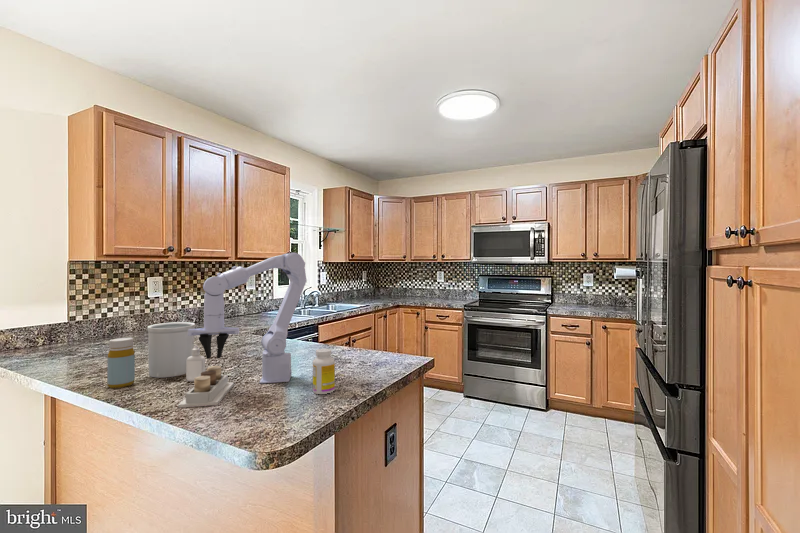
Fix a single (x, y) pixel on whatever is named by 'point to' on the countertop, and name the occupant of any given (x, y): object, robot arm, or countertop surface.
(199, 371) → the eye dropper bottle
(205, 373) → the walnut plug
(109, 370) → the bottle
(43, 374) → the countertop surface
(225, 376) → the white compartment tray
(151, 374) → the utensil holder
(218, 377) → the maple plug
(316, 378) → the supplement bottle
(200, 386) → the maple plug
